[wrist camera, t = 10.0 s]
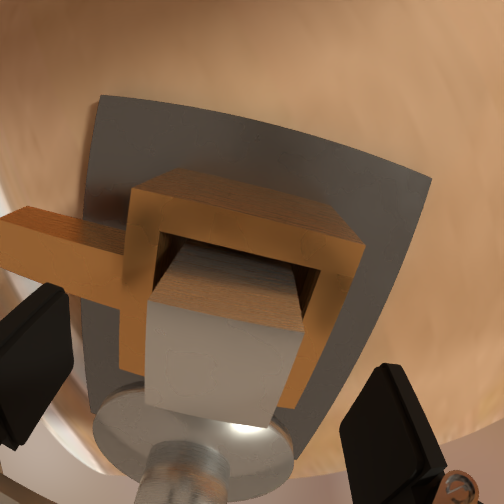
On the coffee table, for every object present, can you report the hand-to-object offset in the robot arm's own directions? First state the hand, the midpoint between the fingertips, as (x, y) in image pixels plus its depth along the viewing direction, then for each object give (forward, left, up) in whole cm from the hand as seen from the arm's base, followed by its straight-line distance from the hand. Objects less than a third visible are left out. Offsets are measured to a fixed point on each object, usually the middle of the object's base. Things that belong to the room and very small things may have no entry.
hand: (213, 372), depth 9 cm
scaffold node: (+5, -1, -10) cm, 11 cm away
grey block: (0, 0, -9) cm, 9 cm away
